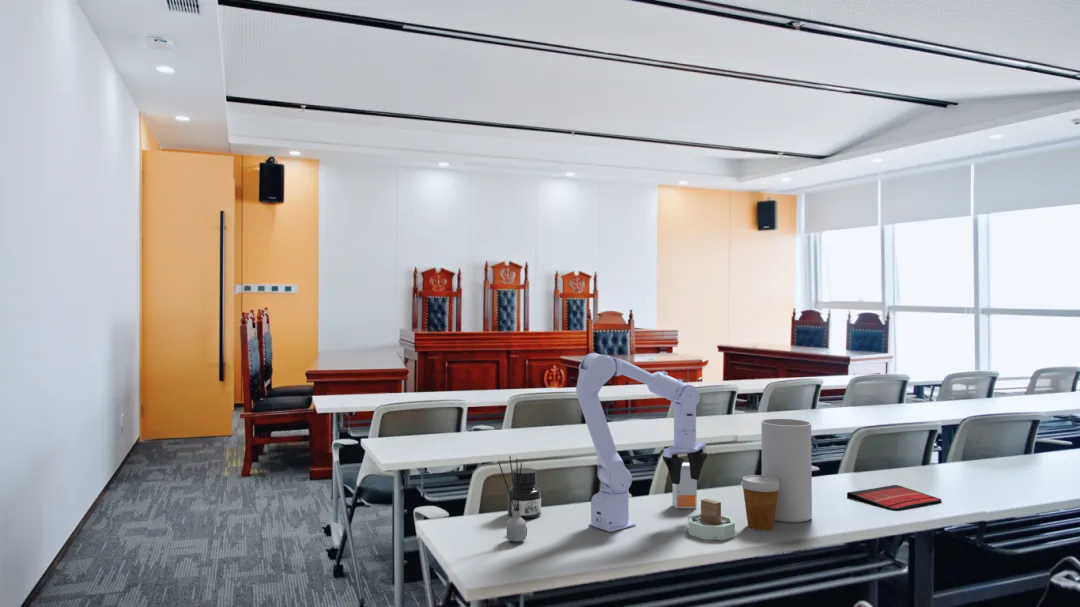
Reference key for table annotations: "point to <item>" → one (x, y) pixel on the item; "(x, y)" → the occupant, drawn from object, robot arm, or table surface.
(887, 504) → the binder
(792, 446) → the cylinder vase
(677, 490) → the skincare box
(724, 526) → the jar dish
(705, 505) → the wooden block
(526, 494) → the ink bottle
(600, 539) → the table surface
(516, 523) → the reed diffuser
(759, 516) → the disposable coffee cup
